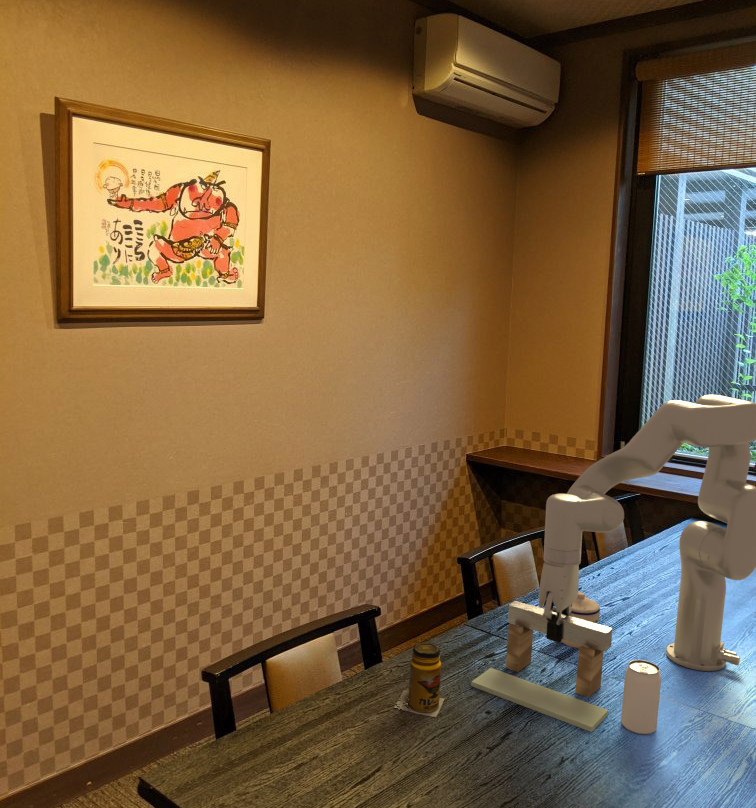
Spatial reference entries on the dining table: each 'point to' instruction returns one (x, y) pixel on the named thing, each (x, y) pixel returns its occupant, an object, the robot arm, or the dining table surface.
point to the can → (641, 697)
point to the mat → (541, 699)
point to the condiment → (424, 681)
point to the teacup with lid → (583, 613)
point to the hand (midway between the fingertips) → (557, 636)
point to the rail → (571, 627)
